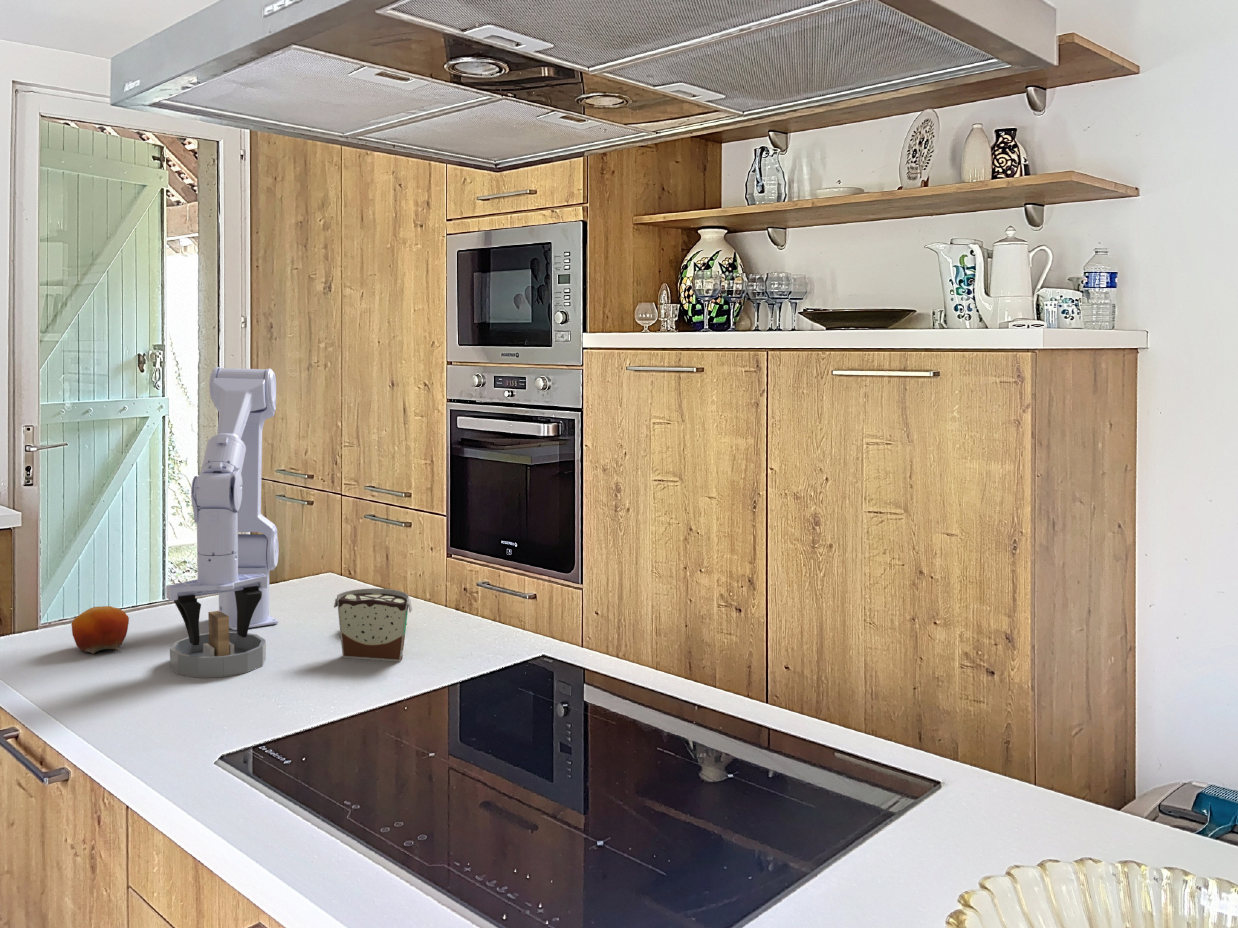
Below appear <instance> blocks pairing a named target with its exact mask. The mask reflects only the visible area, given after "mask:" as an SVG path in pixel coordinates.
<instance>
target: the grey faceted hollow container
mask: <svg viewBox="0 0 1238 928" xmlns="http://www.w3.org/2000/svg"><path fill="white" fill-rule="evenodd" d="M199 638H200V639H199V645H193V644H191V643H190V641H189V636H186V637H184V638H181V639H179V640H176V641H174V643H172V645H171V646H170V648H169V668H170V670H172V671H173V672H175V674H177V675H180V676H185V677H190V678H191V677H192V678H197V679H198V678H199V679H201V678H202V679H203V678H206V679H207V678H225V677H226V678H227V677H231V676H237V675H243V674H247V673H250V672H252V671H255V670H256V669H255V668H257V669H259V668H261V667H263V666H264V663H265V662H264V661H266V660H267V659H266V658H267V657H266V656H267V653H266V652H267V651H266V650H267V648H266V647H267V646H266V642H267V640H266V639H265V638H263V637H261V636H260V635H258V634H256V633H250V632H248V633H247V637H244V638H242V637H241V636H239V635H238V634H237V631H229V655H226V656H214V647H212V646H211V645H209V632H206V633H199ZM262 665H263V666H262ZM258 667H259V668H258ZM254 669H255V670H254ZM249 671H250V672H249Z"/></svg>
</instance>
